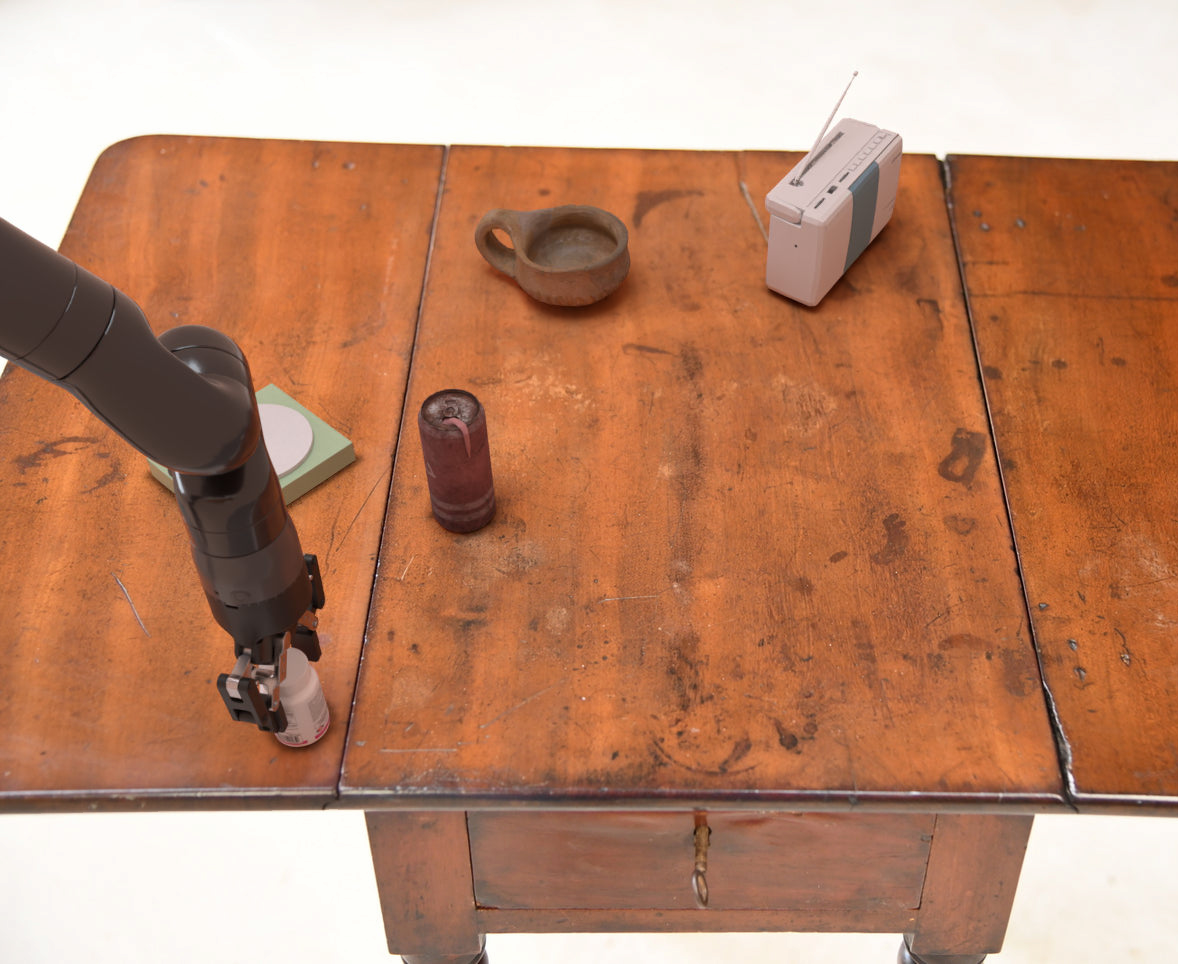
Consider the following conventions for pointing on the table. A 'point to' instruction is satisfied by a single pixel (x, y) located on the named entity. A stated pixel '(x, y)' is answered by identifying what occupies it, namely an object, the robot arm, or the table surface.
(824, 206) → the radio
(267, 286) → the table surface
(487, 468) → the can
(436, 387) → the table surface
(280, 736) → the pill bottle
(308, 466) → the scale
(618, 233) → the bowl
